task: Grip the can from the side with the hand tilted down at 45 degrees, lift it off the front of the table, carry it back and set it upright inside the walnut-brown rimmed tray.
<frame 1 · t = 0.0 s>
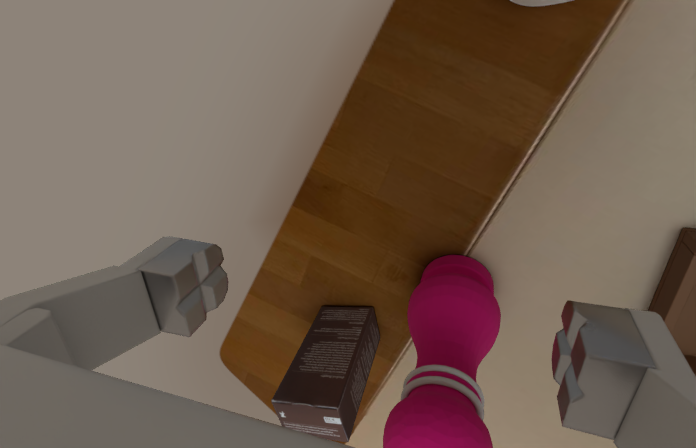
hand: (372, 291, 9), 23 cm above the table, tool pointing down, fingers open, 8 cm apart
pepper mill: (456, 282, 36), on the table
box: (352, 321, 42), on the table
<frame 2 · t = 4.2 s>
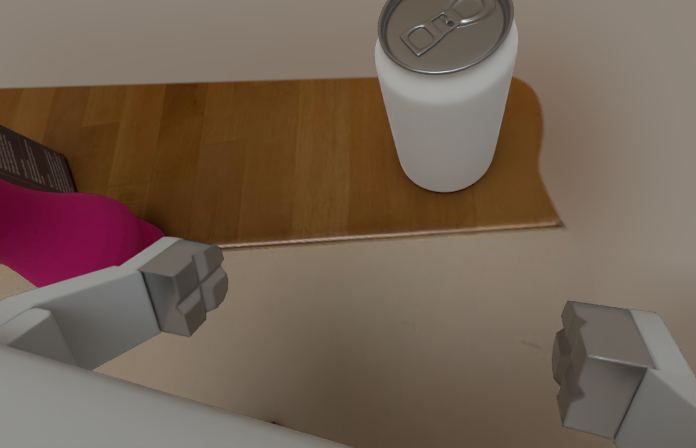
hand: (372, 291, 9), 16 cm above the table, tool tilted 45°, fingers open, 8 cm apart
can: (445, 153, 28), on the table
pepper mill: (137, 261, 31), on the table
box: (55, 193, 36), on the table
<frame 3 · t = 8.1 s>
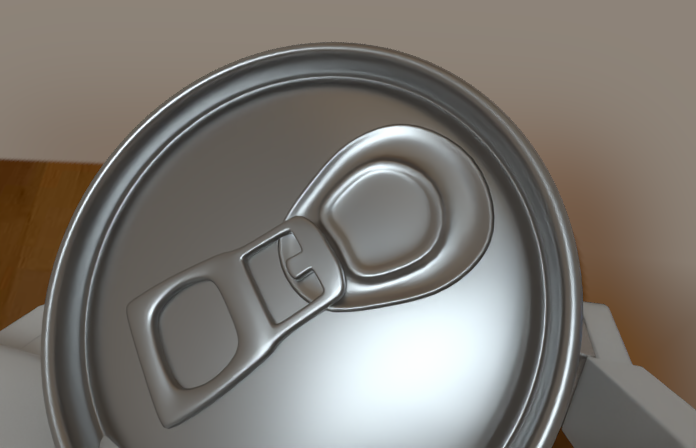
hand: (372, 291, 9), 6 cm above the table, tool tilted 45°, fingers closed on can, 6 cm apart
can: (401, 333, 15), on the table, touching gripper
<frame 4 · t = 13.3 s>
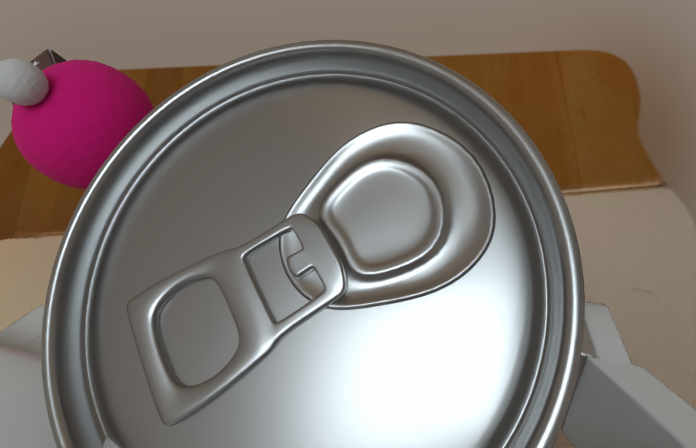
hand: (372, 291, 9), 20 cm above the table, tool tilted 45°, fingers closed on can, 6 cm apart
can: (401, 332, 15), point 13 cm above the table, touching gripper
pepper mill: (248, 226, 34), on the table
box: (158, 166, 38), on the table
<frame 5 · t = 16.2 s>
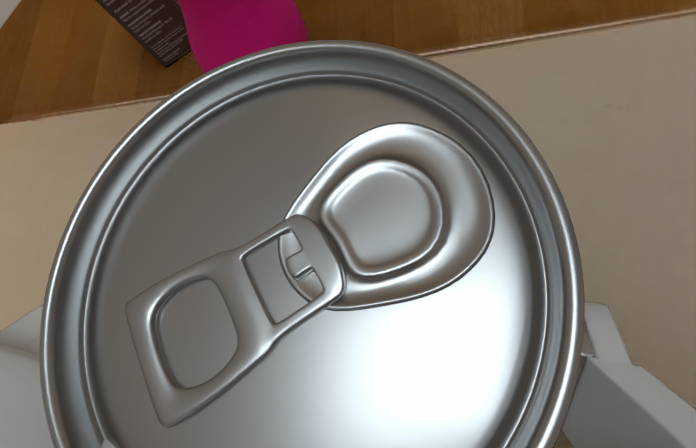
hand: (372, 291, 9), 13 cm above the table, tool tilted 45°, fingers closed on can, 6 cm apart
can: (401, 333, 15), point 7 cm above the table, touching gripper
pepper mill: (279, 87, 29), on the table
box: (174, 37, 34), on the table
when the fingers open (7 cm above the table, at t = 18.6 s): can stays where it is, resting on tray.
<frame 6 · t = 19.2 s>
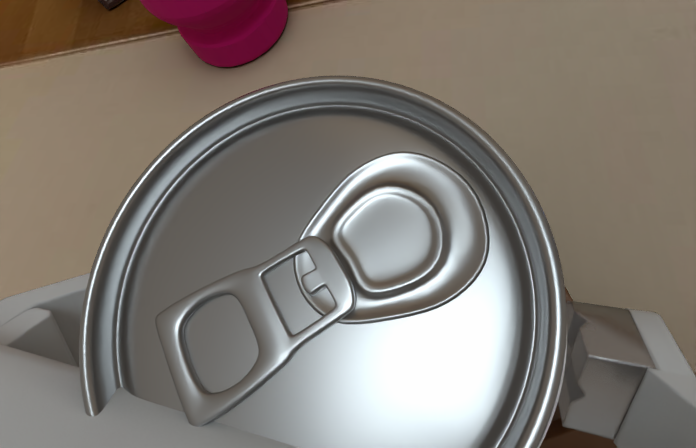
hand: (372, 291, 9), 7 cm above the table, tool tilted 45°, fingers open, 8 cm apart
can: (403, 336, 16), resting on tray
pepper mill: (241, 27, 24), on the table
tray: (401, 335, 16), on the table
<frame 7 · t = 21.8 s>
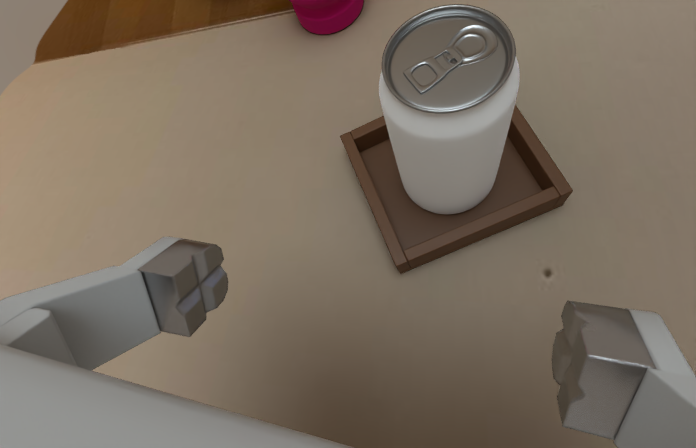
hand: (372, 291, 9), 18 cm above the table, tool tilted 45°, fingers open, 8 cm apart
can: (447, 175, 28), resting on tray
pepper mill: (331, 9, 36), on the table
tray: (445, 176, 29), on the table
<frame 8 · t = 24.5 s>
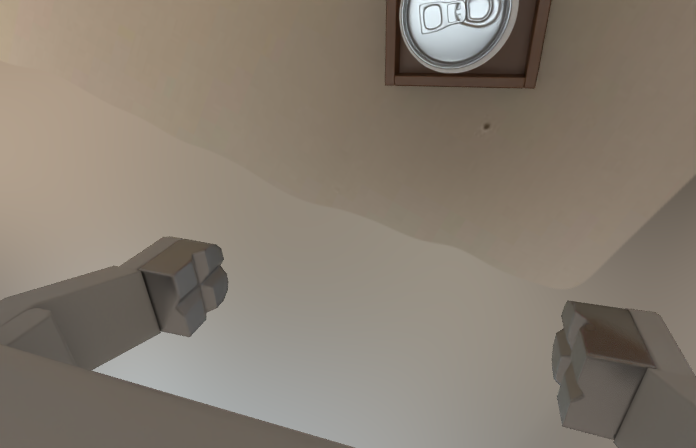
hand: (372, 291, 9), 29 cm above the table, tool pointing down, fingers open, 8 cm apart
can: (466, 13, 31), resting on tray
tray: (465, 11, 31), on the table
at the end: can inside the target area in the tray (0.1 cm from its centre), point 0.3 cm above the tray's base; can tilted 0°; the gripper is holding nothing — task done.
